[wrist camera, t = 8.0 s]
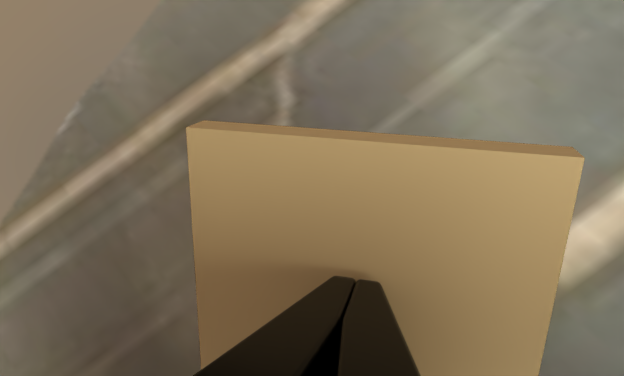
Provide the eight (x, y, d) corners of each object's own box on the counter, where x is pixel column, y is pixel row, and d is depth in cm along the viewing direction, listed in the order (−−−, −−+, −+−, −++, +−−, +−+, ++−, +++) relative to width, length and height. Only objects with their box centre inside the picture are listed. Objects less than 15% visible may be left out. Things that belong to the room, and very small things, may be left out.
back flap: (502, 543, 10) (584, 158, 7) (207, 471, 11) (186, 127, 8) (498, 511, 10) (571, 146, 8) (220, 446, 12) (203, 120, 9)
